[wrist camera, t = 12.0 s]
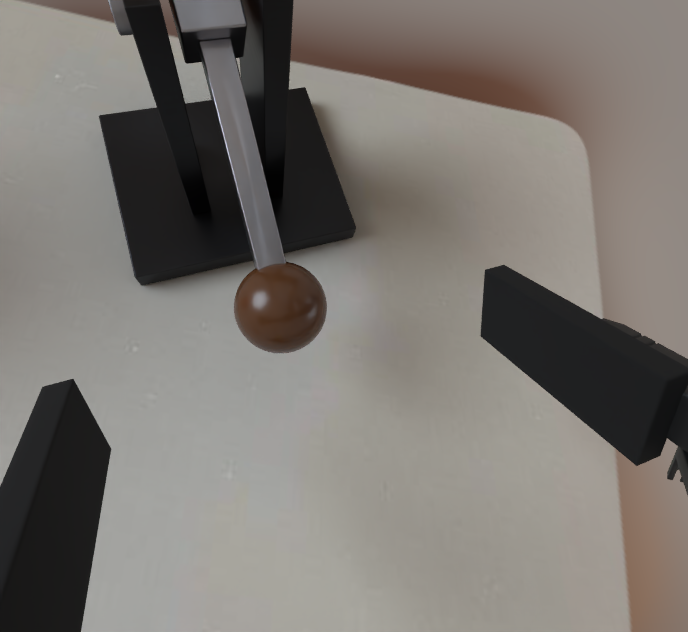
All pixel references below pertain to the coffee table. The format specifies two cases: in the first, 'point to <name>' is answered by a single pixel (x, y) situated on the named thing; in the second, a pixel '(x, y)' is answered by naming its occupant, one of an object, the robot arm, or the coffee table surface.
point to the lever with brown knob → (249, 185)
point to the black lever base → (217, 154)
